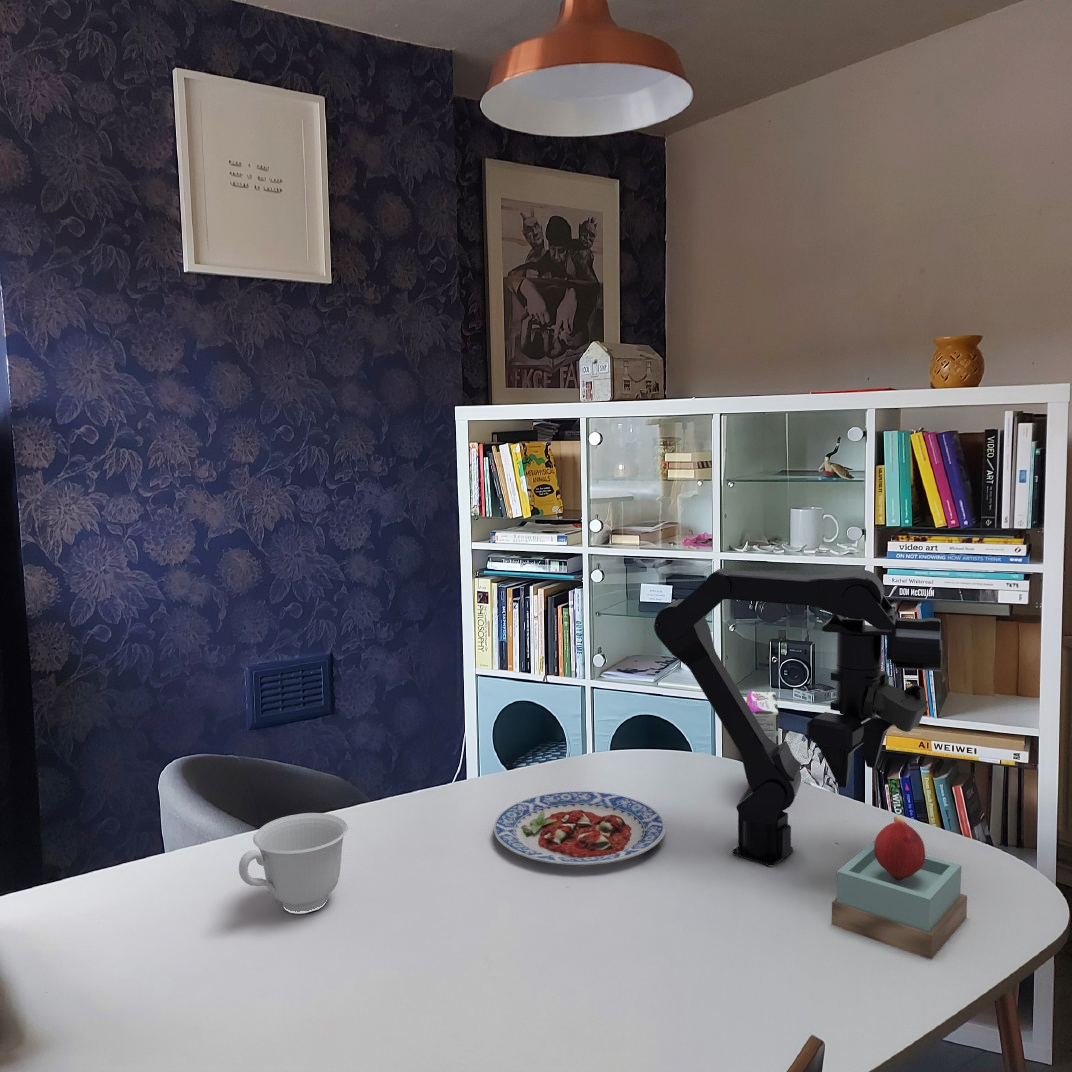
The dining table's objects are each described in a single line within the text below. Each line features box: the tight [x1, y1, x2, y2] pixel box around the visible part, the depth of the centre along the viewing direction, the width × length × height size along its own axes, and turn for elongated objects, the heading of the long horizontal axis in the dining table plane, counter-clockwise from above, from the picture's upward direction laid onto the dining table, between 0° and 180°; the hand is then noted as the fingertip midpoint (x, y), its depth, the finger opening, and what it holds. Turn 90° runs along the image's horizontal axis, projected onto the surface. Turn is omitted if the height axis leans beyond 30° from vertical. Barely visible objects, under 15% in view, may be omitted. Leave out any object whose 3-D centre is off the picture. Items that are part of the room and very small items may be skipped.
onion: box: [874, 815, 926, 880], centre depth 117 cm, size 6×6×8 cm
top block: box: [836, 840, 962, 933], centre depth 117 cm, size 11×11×4 cm
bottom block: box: [831, 893, 968, 960], centre depth 118 cm, size 12×12×4 cm
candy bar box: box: [746, 690, 780, 786], centre depth 156 cm, size 11×5×16 cm, turn 168°
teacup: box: [238, 812, 349, 912], centre depth 124 cm, size 12×15×10 cm
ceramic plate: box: [493, 790, 667, 866], centre depth 144 cm, size 26×26×3 cm
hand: (857, 776), depth 130 cm, fingers open, 9 cm apart
